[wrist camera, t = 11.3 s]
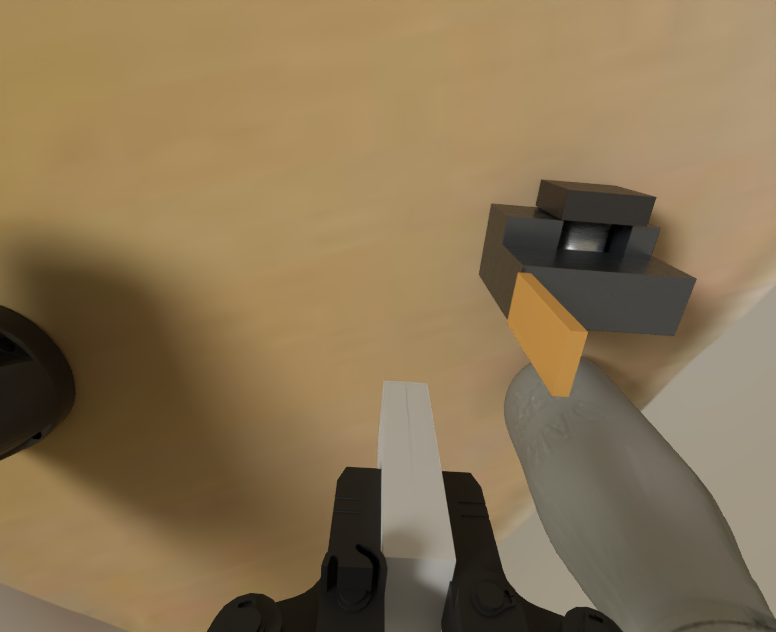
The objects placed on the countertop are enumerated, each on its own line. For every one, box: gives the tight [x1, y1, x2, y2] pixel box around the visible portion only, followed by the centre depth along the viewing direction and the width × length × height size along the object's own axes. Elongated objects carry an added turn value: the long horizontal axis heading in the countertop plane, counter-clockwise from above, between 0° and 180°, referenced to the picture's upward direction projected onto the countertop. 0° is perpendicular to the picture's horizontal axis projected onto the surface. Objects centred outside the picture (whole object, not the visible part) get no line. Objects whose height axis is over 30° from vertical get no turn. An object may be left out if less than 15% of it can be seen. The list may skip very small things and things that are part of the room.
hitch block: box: [479, 204, 696, 336], centre depth 32 cm, size 11×6×10 cm, turn 85°
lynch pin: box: [536, 180, 656, 252], centre depth 34 cm, size 6×11×6 cm, turn 175°
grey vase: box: [504, 356, 776, 632], centre depth 29 cm, size 10×10×28 cm
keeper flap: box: [507, 272, 588, 397], centre depth 23 cm, size 8×3×1 cm
